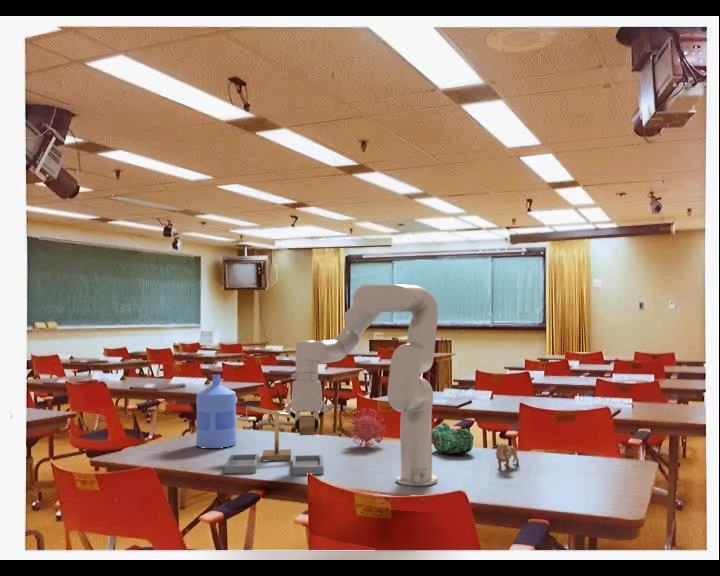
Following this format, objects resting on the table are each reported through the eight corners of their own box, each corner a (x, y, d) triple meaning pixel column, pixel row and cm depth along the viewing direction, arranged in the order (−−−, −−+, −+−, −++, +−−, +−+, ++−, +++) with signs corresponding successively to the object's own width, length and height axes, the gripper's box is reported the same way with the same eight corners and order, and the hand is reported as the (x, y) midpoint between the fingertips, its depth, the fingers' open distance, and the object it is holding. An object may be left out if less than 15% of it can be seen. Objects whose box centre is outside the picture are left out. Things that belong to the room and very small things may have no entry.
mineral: (418, 452, 245) (418, 425, 245) (445, 446, 256) (444, 420, 256) (459, 459, 232) (459, 431, 232) (485, 452, 243) (484, 425, 243)
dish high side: (255, 472, 216) (255, 465, 216) (224, 473, 215) (224, 466, 215) (259, 460, 234) (259, 453, 234) (230, 461, 233) (230, 454, 233)
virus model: (371, 442, 266) (371, 404, 267) (393, 447, 254) (393, 408, 255) (340, 446, 258) (340, 408, 259) (362, 452, 246) (361, 412, 247)
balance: (316, 459, 235) (316, 405, 235) (235, 462, 232) (235, 407, 233) (316, 453, 245) (315, 402, 245) (238, 456, 242) (238, 404, 243)
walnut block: (314, 435, 220) (314, 416, 220) (299, 435, 219) (299, 417, 220) (314, 432, 225) (314, 414, 225) (299, 432, 224) (299, 414, 225)
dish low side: (323, 474, 213) (323, 466, 213) (292, 475, 212) (292, 467, 212) (322, 462, 231) (322, 454, 231) (293, 463, 230) (293, 455, 230)
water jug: (201, 442, 271) (201, 373, 272) (239, 441, 271) (239, 372, 272) (191, 449, 255) (191, 376, 257) (232, 449, 255) (231, 376, 257)
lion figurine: (510, 473, 211) (509, 445, 211) (493, 472, 213) (493, 444, 213) (520, 464, 224) (520, 437, 224) (505, 462, 226) (504, 436, 227)
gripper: (281, 378, 218) (281, 434, 218) (332, 377, 220) (332, 433, 219) (281, 376, 226) (281, 430, 225) (331, 375, 227) (331, 429, 227)
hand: (306, 431), depth 222 cm, fingers closed on walnut block, 5 cm apart
